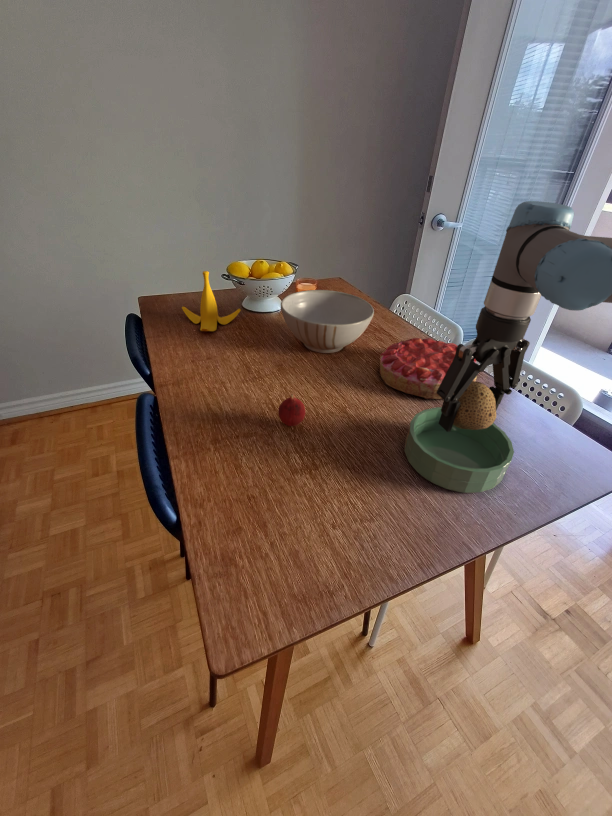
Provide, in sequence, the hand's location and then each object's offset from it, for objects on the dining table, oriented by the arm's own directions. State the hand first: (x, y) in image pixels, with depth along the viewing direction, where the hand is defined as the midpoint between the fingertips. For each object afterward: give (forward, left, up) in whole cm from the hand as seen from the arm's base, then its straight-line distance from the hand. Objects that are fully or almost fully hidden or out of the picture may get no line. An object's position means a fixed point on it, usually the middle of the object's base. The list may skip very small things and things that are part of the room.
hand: (465, 422), depth 76 cm
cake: (+29, -14, -9) cm, 34 cm away
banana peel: (+75, +36, -9) cm, 84 cm away
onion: (+20, +28, -9) cm, 36 cm away
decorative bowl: (+55, +5, -9) cm, 56 cm away
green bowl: (0, 0, -9) cm, 9 cm away
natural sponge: (0, 0, -2) cm, 2 cm away
